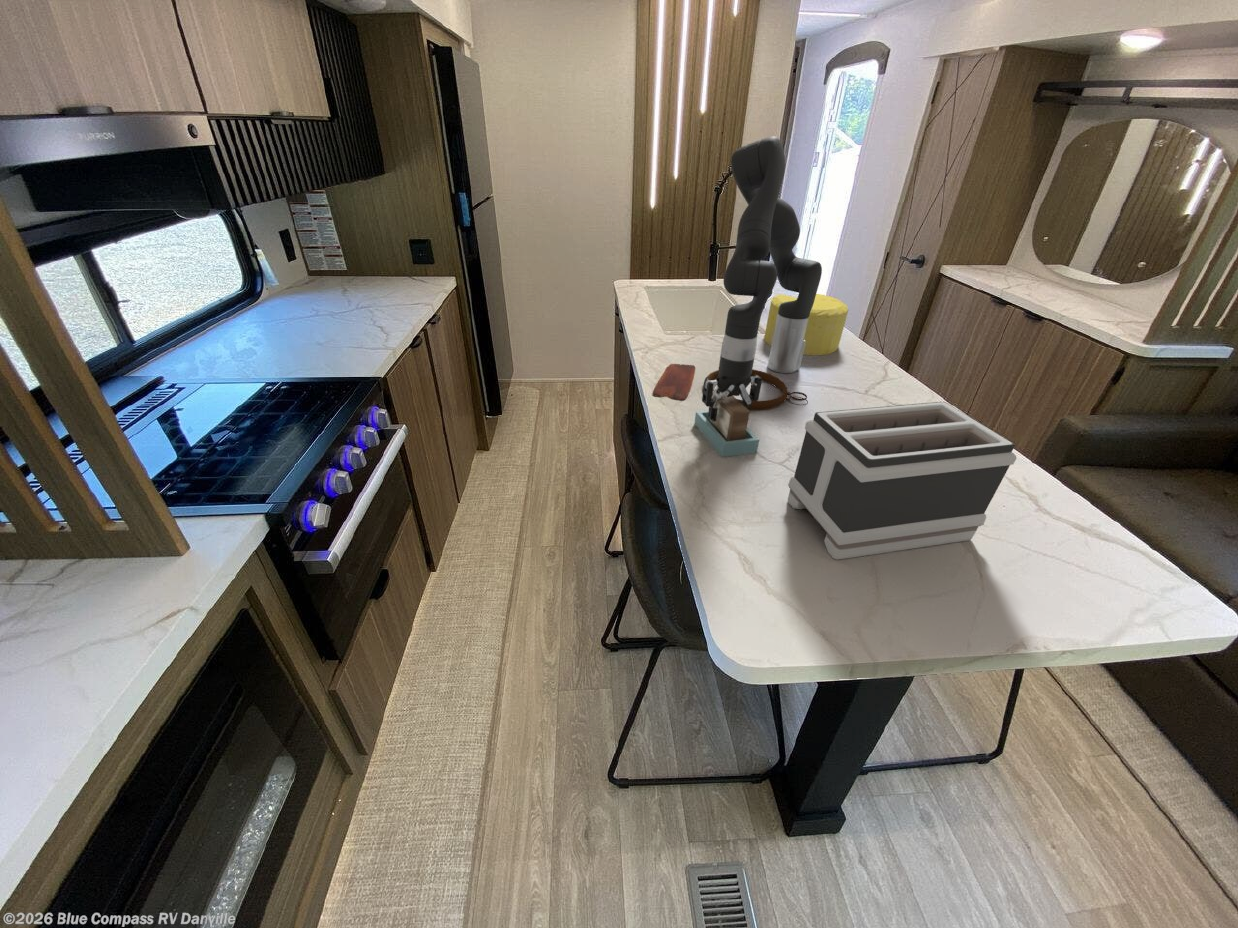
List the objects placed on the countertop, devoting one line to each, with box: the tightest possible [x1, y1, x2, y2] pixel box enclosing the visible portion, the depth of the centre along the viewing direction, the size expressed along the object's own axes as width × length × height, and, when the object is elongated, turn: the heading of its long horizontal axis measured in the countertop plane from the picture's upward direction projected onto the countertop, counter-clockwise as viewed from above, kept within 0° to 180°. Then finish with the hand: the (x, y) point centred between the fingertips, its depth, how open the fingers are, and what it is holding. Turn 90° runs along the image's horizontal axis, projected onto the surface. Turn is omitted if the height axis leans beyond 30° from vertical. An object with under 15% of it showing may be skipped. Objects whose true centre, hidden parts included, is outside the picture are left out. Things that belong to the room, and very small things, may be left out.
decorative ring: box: [702, 368, 809, 411], centre depth 149 cm, size 24×3×30 cm
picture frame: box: [708, 391, 751, 442], centre depth 124 cm, size 12×4×9 cm, turn 16°
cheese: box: [763, 293, 849, 356], centre depth 183 cm, size 26×26×15 cm
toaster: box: [787, 401, 1017, 561], centre depth 96 cm, size 18×34×21 cm, turn 102°
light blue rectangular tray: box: [694, 409, 760, 458], centre depth 126 cm, size 16×9×4 cm, turn 16°
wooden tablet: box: [652, 363, 696, 401], centre depth 155 cm, size 27×10×2 cm, turn 164°
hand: (727, 418), depth 124 cm, fingers open, 7 cm apart
